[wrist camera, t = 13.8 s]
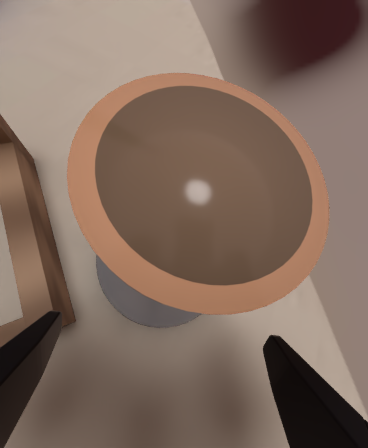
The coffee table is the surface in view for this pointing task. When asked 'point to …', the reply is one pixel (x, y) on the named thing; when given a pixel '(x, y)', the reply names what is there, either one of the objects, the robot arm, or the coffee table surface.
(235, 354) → the coffee table surface
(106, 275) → the saucer
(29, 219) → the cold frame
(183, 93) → the pot
